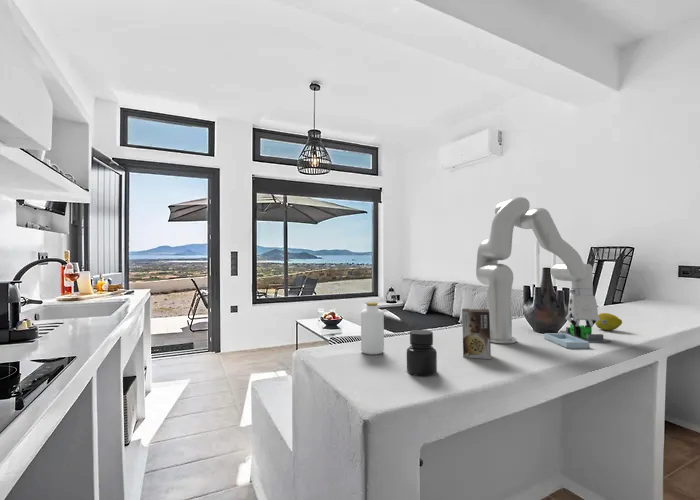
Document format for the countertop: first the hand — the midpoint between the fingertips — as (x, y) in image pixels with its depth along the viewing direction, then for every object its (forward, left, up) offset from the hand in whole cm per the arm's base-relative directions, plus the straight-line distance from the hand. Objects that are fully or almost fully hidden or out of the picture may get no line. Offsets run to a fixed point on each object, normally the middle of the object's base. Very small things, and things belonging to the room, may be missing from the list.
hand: (582, 335), depth 150 cm
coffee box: (-55, -29, -1) cm, 62 cm away
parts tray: (-14, -11, -1) cm, 17 cm away
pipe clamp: (0, 0, -1) cm, 1 cm away
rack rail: (+1, 0, -1) cm, 1 cm away
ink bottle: (-77, -46, -1) cm, 89 cm away
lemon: (+19, +13, -1) cm, 23 cm away
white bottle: (-91, -24, -1) cm, 94 cm away
